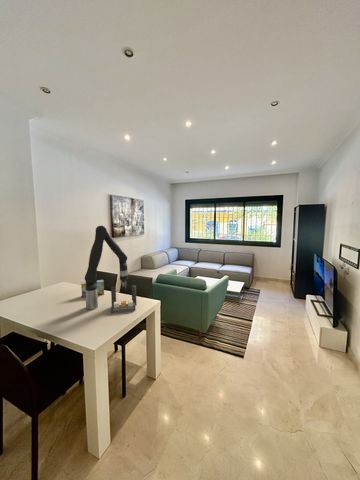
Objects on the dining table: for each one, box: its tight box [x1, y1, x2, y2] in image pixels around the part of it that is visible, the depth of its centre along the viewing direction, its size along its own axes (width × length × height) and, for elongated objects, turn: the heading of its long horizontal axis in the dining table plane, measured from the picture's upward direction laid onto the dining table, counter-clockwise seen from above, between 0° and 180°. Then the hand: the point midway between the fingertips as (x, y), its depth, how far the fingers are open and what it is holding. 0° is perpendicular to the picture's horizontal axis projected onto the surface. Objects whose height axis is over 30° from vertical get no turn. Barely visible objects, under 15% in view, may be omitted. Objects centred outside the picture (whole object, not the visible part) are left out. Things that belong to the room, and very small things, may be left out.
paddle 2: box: [127, 299, 133, 306], centre depth 173 cm, size 4×4×4 cm
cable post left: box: [110, 286, 117, 306], centre depth 178 cm, size 4×4×18 cm
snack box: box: [80, 279, 105, 298], centre depth 204 cm, size 21×6×15 cm, turn 112°
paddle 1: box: [114, 301, 120, 308], centre depth 170 cm, size 4×4×4 cm
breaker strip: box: [110, 302, 136, 314], centre depth 171 cm, size 20×7×5 cm, turn 103°
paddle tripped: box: [120, 300, 127, 307], centre depth 171 cm, size 4×4×4 cm
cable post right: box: [131, 285, 137, 306], centre depth 182 cm, size 4×4×18 cm
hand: (124, 292), depth 187 cm, fingers closed
